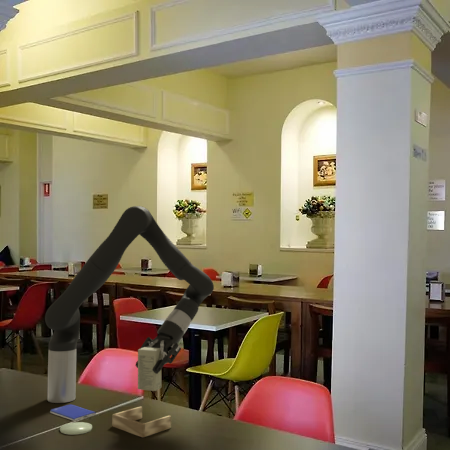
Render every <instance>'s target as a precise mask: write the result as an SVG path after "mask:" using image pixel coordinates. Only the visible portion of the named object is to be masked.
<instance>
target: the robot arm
mask: <svg viewBox="0 0 450 450" xmlns="http://www.w3.org/2000/svg"><path fill="white" fill-rule="evenodd" d="M138 236H141V237H142V238H143V239H144V240H145V241H146V242H148V244H149V245H150V246H151V247H152V248H153V250H154V252H155V253H156V254H157V255H158V257H159V259H160V261H161V262H162V263H163V265H164V266H165V267H166V268H167V269H168V270H169V272H171V273H172V275H173V276H174V277H175V278H176V279H178V280H179V281H185V282H186V283H188V284H189V285H188V286H187V288H186V289H185V291H184V293H183V295H182V297H181V299H180V300H179V301H178V302H177V304H176V305H175V307H174V308H173V310H171V311H170V313H169V314H168V316H167V317H166V318H165V320H164V321H163V323H162V324H161V326H160V327H159V328H158V330H157V335H156V337H155V338H153V339H152V338H151V337H150V336H148V337H147V338H146V339H145V340H144V341H143V343H142V344H141V346H140V348H139V349H141V348H143V347H149V348H160V360H158V361H157V363H156V364H155V366H154V367H153V369H152V370H153V372H154V373H156V374H158V372H160V370H161V371H162V369H163V367H164V366H165V365H166V364H173V362H174V360H175V359H176V358H177V355H178V354H179V353H180V351H181V350H182V347H181V346H180V345H179V343H180V342H181V340H182V338H183V337H184V335H185V334H186V332H187V330H188V328H189V327H190V325H191V323H192V321H193V320H194V318H195V316H197V313H198V311H199V307H200V306H201V304H202V303H203V302H204V300H205V299H206V298H207V297H209V296H210V295H211V294H212V293H213V292H214V289H215V288H214V287H215V285H214V283H213V280H212V279H211V278H210V276H209V275H208V274H207V273H206V272H204V271H202V270H201V269H200V268H198V267H197V266H196V265H194V264H193V263H191V261H190V260H189V259H188V258H187V257H186V255H185V254H184V253H183V252H182V251H181V250H180V249H179V248H178V247H177V246H176V244H174V243H173V242H172V241H171V240H170V238H169V237H168V236H167V235H166V233H165V232H164V231H163V230H162V228H161V227H160V225H159V224H158V223H157V221H156V219H155V217H154V216H153V215H152V214H151V212H150V210H149V209H148V208H146V207H144V206H141V205H134V206H130V207H128V208H126V209H125V210H124V211H123V213H122V214H121V216H120V217H119V219H118V221H117V223H116V224H115V226H114V227H113V229H112V231H111V232H110V234H108V236H107V237H106V238H105V239H104V240H103V241H102V242H101V244H100V245H99V246H98V247H97V248H96V249H95V250H94V252H93V253H92V254H91V255H90V257H89V258H88V259H87V260H86V262H85V263H84V264H83V266H82V268H80V270H79V272H77V274H76V275H75V276H74V278H73V279H72V281H71V282H70V284H69V285H68V287H67V288H66V289H65V290H64V291H63V293H62V294H61V295H60V296H59V297H57V299H56V300H55V301H54V302H53V303H52V304H51V305H50V306H49V307H48V308H47V309H46V313H45V315H44V321H45V324H46V326H47V328H49V329H50V330H53V335H52V337H51V338H50V340H49V342H48V358H47V359H48V360H47V361H48V362H47V364H48V365H47V401H48V402H49V403H51V404H52V403H53V404H54V403H55V404H64V403H69V402H73V401H75V399H76V395H77V394H76V390H77V389H76V388H77V387H76V384H77V345H78V341H79V338H80V325H81V313H80V309H79V308H80V307H81V305H82V304H83V303H84V302H85V301H86V300H87V299H88V298H89V297H90V296H92V295H94V294H95V293H96V292H97V290H99V289H100V288H101V287H103V285H104V284H105V283H106V282H107V281H108V279H109V278H110V277H111V276H112V274H113V273H114V272H115V270H116V268H117V267H118V265H119V264H120V261H121V260H122V258H123V255H124V254H125V252H126V250H127V248H129V246H130V245H131V244H132V243H133V241H134V240H135V239H136V238H137V237H138ZM135 367H136V368H137V369H138V360H137V361H136V362H135Z"/></svg>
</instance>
